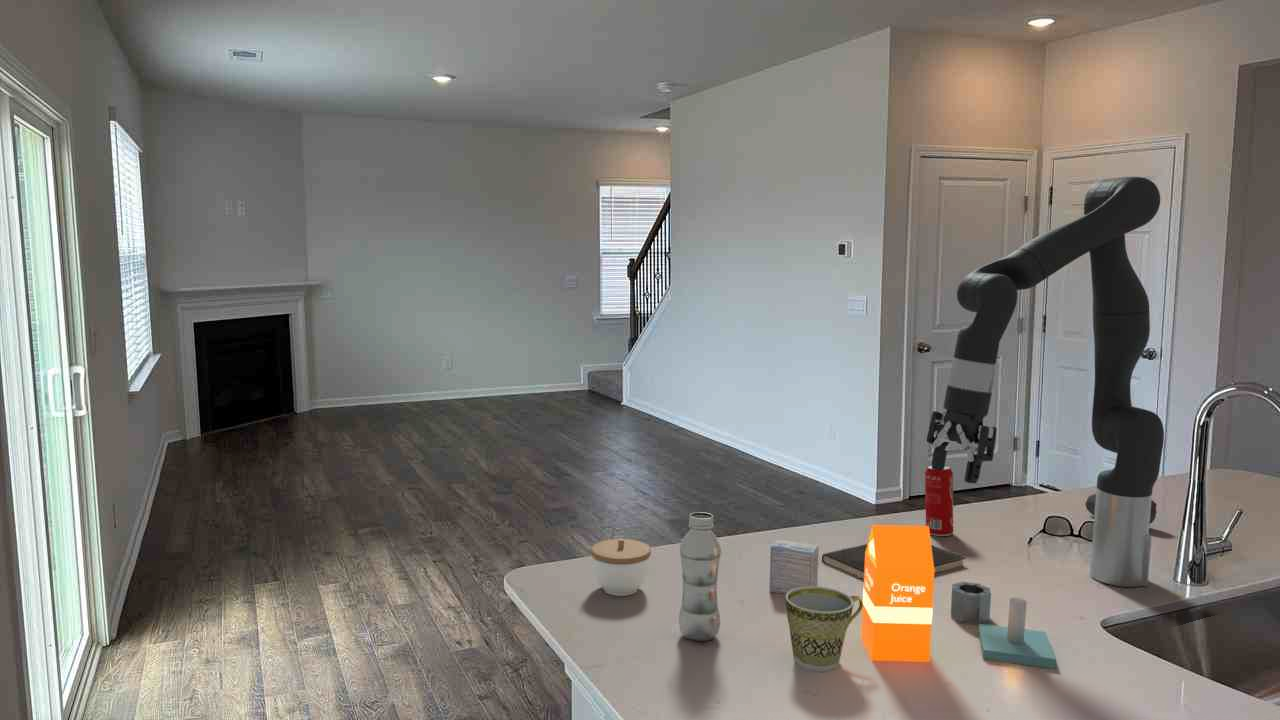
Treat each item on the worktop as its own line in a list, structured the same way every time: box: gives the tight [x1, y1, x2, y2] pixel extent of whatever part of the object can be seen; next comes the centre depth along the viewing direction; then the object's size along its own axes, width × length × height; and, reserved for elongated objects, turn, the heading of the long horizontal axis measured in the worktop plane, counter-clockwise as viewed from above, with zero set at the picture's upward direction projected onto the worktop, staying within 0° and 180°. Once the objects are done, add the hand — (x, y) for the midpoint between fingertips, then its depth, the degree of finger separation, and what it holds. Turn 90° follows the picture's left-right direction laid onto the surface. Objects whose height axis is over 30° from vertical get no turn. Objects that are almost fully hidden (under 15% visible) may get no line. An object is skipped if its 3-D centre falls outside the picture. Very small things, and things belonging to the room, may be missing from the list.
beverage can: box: [924, 464, 954, 537], centre depth 196 cm, size 6×6×15 cm
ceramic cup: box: [784, 586, 863, 673], centre depth 135 cm, size 13×10×10 cm
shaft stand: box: [978, 597, 1056, 669], centre depth 140 cm, size 10×10×8 cm
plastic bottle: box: [678, 511, 722, 642], centre depth 142 cm, size 6×7×20 cm
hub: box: [950, 581, 992, 626], centre depth 152 cm, size 6×6×5 cm
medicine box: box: [769, 539, 820, 595], centre depth 162 cm, size 8×4×9 cm, turn 65°
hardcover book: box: [821, 543, 966, 579], centre depth 178 cm, size 16×23×2 cm
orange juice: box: [860, 524, 935, 663], centre depth 138 cm, size 8×9×20 cm
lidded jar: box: [590, 538, 652, 597], centre depth 162 cm, size 11×11×9 cm
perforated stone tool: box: [1084, 493, 1158, 525], centre depth 206 cm, size 15×5×7 cm, turn 37°
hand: (953, 476), depth 159 cm, fingers open, 8 cm apart
